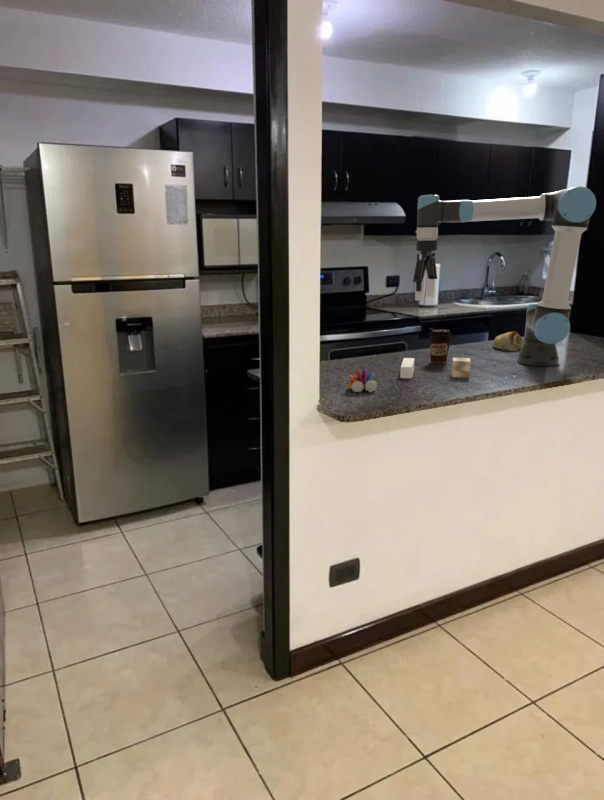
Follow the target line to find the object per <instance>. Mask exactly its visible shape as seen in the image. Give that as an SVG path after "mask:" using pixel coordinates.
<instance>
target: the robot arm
mask: <svg viewBox="0 0 604 800" xmlns="http://www.w3.org/2000/svg"><path fill="white" fill-rule="evenodd" d="M596 206H597V198H596V195H595V194H594V192H593V191H592V190H591V189H589V188H587V187H585V186H580V185H574V186H570V187H568V188H565V189H561V190H558V191H554V192H553V191H552V192H546V193H545V192H544V193H541V194H540V195H539V196H528V197H527V196H525V197H510V198H509V197H508V198H495V199H494V198H493V199H477V200H470V199H456V200H455V199H454V200H452V199H451V200H441V199H440V195H438V194H425V195H423V194H422V195H420V196H419V197H418V198H417V207H416V208H417V209H416V210H417V214H416V216H417V217H416V221H417V222H416V230H415V234H416V239H417V240H416V244H415V245H416V246H415V247H416V248H415V250H416V251H417V252H420V253H417V254H416V263H415V268H414V269H415V270H414V275H413V279H412V282H413V283H415V285H414V286H415V288H414V289H415V290H414V301H422V302H423V301H424V281H423V280H424V276H425V274H427V279H426V280H427V281H426V297H429V298H430V297H433V298H434V297H435V285H436V284H435V280H437V279H438V275H437V274H438V273H437V266H436V265H437V264H436V253H435V251H437V250H438V240H437V239H438V235H439V223H450V224H455V223H466V222H467V223H469V222H482V221H483V222H485V221H486V222H487V221H500V220H501V221H502V220H503V221H504V220H505V221H506V220H507V221H508V220H509V221H510V220H522V219H523V220H525V219H538V220H539V221H541V222H543V221H549V222H550V221H552V222H551V228H552V229H553V231H554V236H553V241H552V246H551V252H550V257H549V263H548V267H547V273H546V278H545V284H544V289H543V293H542V298H541V300H540V301H538V302H537V303H530V304H528V305H527V309H526V311H525V313H526V316H525V317H526V318H525V326H524V327H525V328H524V337H523V339H524V340H523V342H522V344H523V345H522V348H521V349H520V350H519V353H518V355H517V362H518V363H520V364H522V365H526V366H527V365H528V366H533V367H553V366H554V367H555V366H557V365H559V361H560V360H559V359H560V356H559V352H558V350H557V349H558V348H557V344H558V343H561V342H563V341H564V340H565V339H566V338H567V337H568V335H569V334H570V330H571V324H570V323H571V322H570V320H569V319H570V314H571V309H572V308H571V306H570V304H569V303H568V300H569V296H570V291H571V287H572V282H573V278H574V272H575V269H576V268H575V267H576V262H577V259H578V252H579V248H580V242H581V238H582V234H583V233H584V232H585V231H587V230H588V226H589V223H590V218H591V216H592V215H593V214H594V212H595V210H596V208H597V207H596Z"/></svg>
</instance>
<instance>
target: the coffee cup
mask: <svg viewBox="0 0 604 800" xmlns="http://www.w3.org/2000/svg"><path fill="white" fill-rule="evenodd" d="M451 337H452V333H451V332H450V329H442V328H441V329H432V330H431V332H430V333H429V347H430V348H429V349H430V351H429V356H430V363H431V364H437V365H442V364H445V365H446V364H447V363H448V353H449V349H450V340H451Z"/></svg>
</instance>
